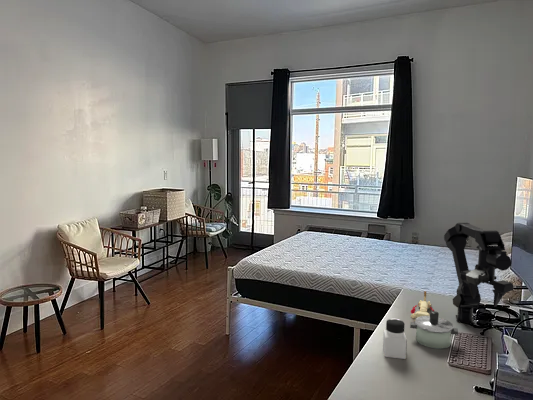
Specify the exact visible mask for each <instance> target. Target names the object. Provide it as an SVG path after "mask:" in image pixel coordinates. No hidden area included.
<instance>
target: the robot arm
mask: <svg viewBox="0 0 533 400" xmlns="http://www.w3.org/2000/svg"><path fill="white" fill-rule="evenodd" d="M469 237H470V238H473V239H474V240H475V243H476V244H478V245H477V246H476V249H477V250H478V262H477V264H475V266H474V269H472V270H471V269H469V266H468V265H469V264H468V261H467V257H466V252H465V249H466V246H467V243H468V242H467V240H468V239H469ZM443 239H444V242H445V245H446V247H447V248H448V250H450V251H451V253H452V258H453V261H454V267H455V271H456V276H457V281H458V286H457V289H456V295H455V296H454V297H453V298H452V304H453V305H454V307H456V308H457V314H455V320H456V322H457V323H462V324H463V323H464V324H469V325H470V324H471V325H474V324H475V321H474V319H473V314H474V309H479V306H480V304H481V301H482V297H481V294H480V290H479V287H478V286H479V285H481V284H487V285H490V286H492V288H493V289H492V293H493V294H494V295H493V307H497V306H498V305H499V303H500V301H501V299H502V298H503V297H504V296H505V294H507V293H510V292H512V291H513V292H514V284H513V283H512V282H510V281H507V280H504V279H502V280H497V278H498V277H497V276H496V275H495V274H496V270H497V269H498V270H500V271H506V270H509V269H510V267H511V266H512V259H511V257H510V256H509V255H507V251H506V247H505V243H504V241H503V239H502V236H501V234H500V232H499V230H495V229H483V228H480V227H478V226H475V225H473V224H470V222H457V223H456V224H455V225H454V226H453V227H451V228H450V227H449V229H447V231H446V232H445V233H444V235H443Z"/></svg>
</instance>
